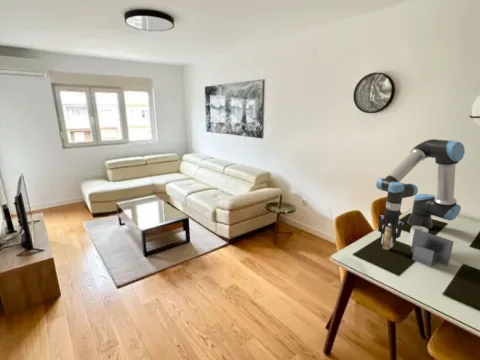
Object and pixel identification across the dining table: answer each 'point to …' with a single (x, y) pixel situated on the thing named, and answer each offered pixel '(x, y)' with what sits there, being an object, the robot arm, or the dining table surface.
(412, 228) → the cup
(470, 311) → the dining table surface
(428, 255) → the bracket
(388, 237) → the wooden dowel
